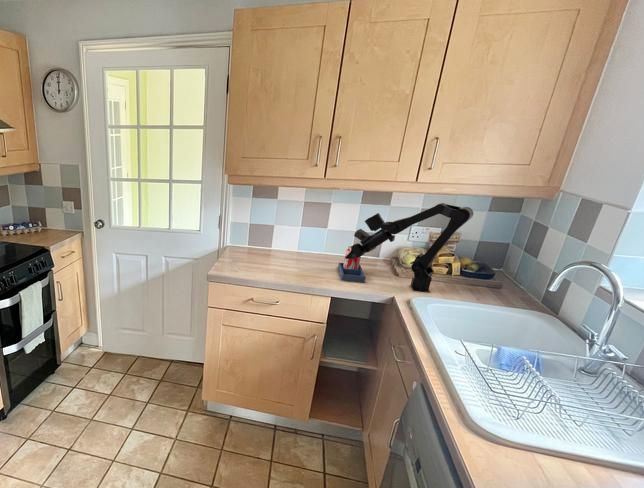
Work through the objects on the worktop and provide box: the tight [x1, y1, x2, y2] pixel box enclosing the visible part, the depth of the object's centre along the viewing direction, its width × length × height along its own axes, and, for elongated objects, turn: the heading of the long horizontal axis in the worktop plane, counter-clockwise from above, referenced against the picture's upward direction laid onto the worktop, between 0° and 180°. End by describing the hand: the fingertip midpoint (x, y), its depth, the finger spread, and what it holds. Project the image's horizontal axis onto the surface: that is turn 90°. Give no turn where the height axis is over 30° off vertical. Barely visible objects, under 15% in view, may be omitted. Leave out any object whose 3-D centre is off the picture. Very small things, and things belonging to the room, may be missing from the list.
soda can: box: [343, 245, 362, 270], centre depth 206 cm, size 7×7×12 cm
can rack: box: [337, 262, 367, 284], centre depth 204 cm, size 10×19×3 cm, turn 163°
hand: (349, 256), depth 206 cm, fingers open, 9 cm apart
